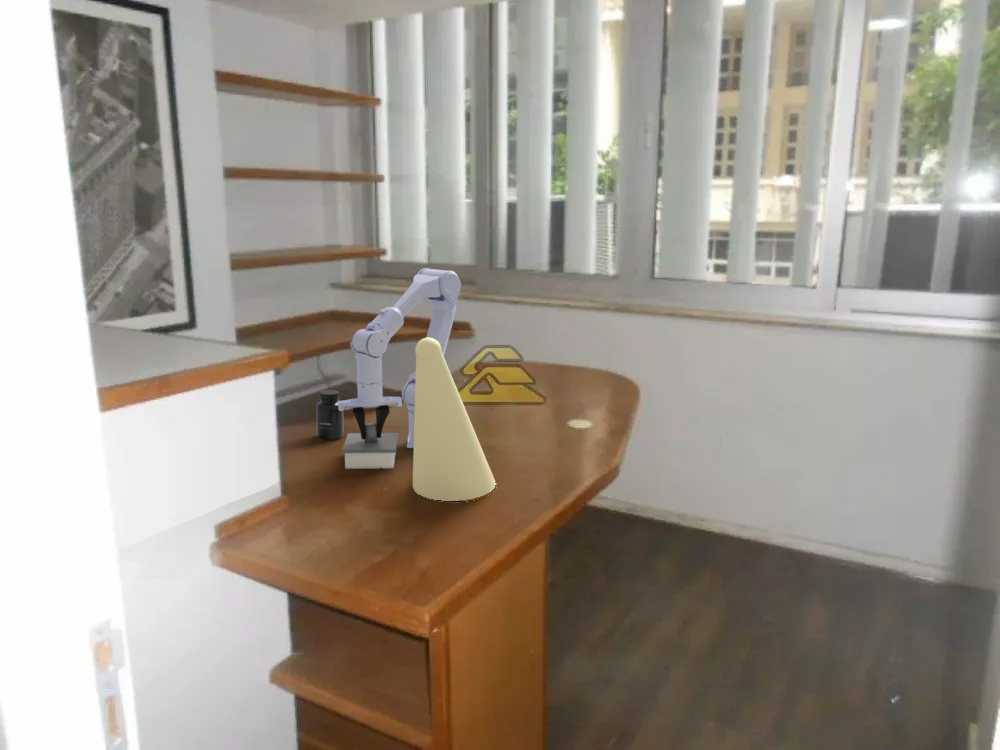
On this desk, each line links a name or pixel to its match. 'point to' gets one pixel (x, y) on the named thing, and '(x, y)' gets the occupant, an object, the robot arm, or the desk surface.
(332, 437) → the supplement bottle
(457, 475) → the cone light
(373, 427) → the gray lid
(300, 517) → the desk surface
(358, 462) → the white open box
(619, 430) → the desk surface
